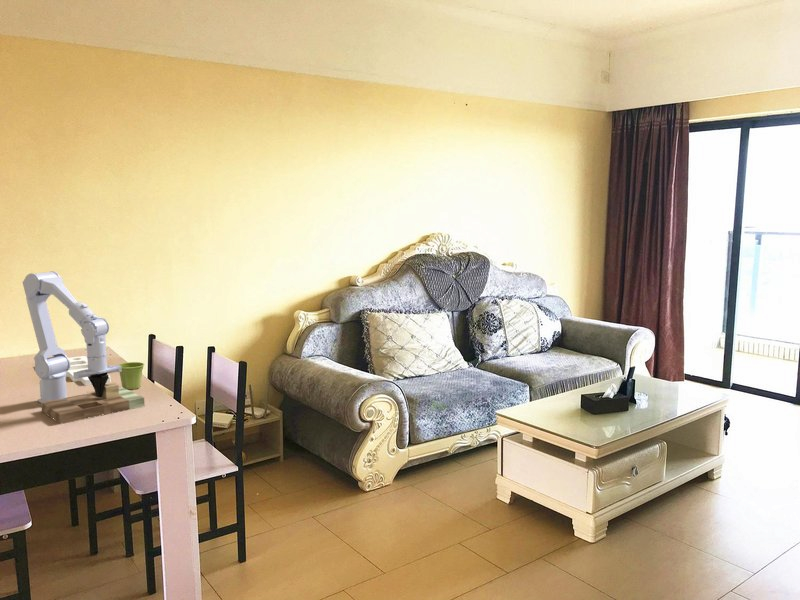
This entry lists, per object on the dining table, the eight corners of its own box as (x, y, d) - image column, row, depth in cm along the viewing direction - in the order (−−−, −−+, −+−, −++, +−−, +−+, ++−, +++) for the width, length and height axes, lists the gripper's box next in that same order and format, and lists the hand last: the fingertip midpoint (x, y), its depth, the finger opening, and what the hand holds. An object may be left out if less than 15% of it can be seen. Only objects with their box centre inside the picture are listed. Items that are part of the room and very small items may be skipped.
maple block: (102, 396, 217) (101, 384, 217) (114, 394, 220) (113, 382, 219) (106, 399, 214) (105, 387, 214) (119, 396, 217) (118, 384, 216)
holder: (111, 383, 248) (110, 376, 247) (58, 391, 237) (57, 383, 237) (85, 362, 283) (85, 355, 283) (38, 367, 273) (38, 361, 272)
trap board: (41, 411, 211) (41, 402, 211) (122, 395, 229) (122, 387, 229) (60, 423, 198) (59, 414, 198) (144, 406, 216) (144, 397, 216)
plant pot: (137, 383, 246) (135, 360, 245) (150, 387, 240) (149, 364, 239) (113, 388, 239) (111, 365, 238) (126, 392, 233) (124, 369, 232)
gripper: (77, 361, 205) (80, 403, 207) (124, 354, 215) (126, 394, 217) (70, 357, 210) (72, 398, 212) (115, 351, 220) (118, 390, 222)
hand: (99, 396), depth 215 cm, fingers closed
